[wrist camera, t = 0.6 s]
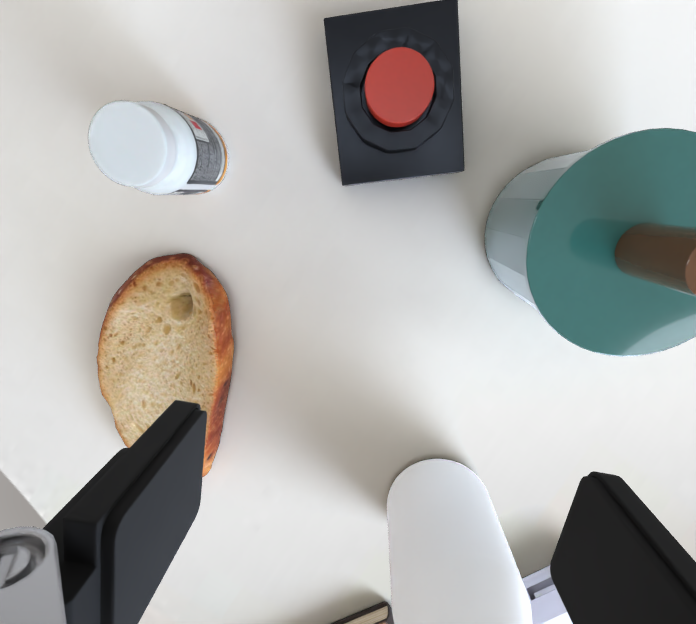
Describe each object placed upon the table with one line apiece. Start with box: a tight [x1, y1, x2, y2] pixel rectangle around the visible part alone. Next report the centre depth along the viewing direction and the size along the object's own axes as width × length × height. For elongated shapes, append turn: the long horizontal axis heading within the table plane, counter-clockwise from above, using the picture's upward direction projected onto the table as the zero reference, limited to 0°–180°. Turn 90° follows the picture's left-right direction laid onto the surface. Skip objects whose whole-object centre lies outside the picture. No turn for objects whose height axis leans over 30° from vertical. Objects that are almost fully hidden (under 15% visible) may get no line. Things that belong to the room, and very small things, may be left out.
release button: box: [365, 47, 434, 127], centre depth 28 cm, size 4×4×2 cm
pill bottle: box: [88, 100, 229, 195], centre depth 29 cm, size 6×6×10 cm
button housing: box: [324, 0, 464, 186], centre depth 30 cm, size 11×9×4 cm
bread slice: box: [97, 253, 234, 477], centre depth 37 cm, size 18×18×4 cm
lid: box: [523, 128, 696, 356], centre depth 21 cm, size 12×12×7 cm
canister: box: [485, 150, 589, 310], centre depth 29 cm, size 11×11×10 cm
